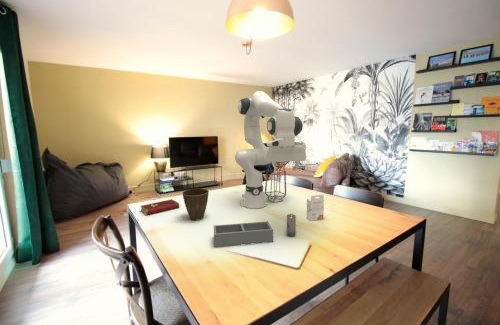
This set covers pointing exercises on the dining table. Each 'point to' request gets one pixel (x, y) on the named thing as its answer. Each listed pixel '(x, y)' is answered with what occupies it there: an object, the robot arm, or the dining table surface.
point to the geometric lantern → (276, 182)
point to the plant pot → (196, 202)
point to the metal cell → (291, 225)
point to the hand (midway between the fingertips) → (285, 170)
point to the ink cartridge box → (315, 207)
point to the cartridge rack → (242, 234)
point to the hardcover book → (159, 207)
